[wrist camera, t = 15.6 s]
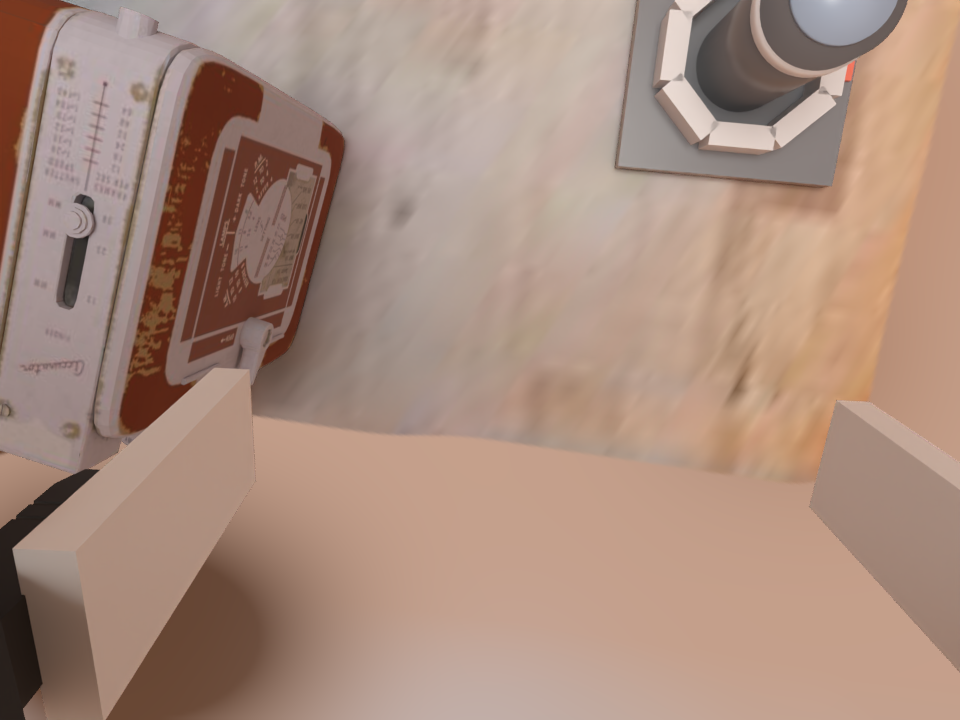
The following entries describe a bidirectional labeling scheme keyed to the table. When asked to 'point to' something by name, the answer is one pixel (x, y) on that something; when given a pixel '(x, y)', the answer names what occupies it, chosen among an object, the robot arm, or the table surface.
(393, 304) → the table surface
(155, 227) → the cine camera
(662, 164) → the mount plate
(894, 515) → the robot arm
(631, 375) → the table surface
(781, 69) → the lens
